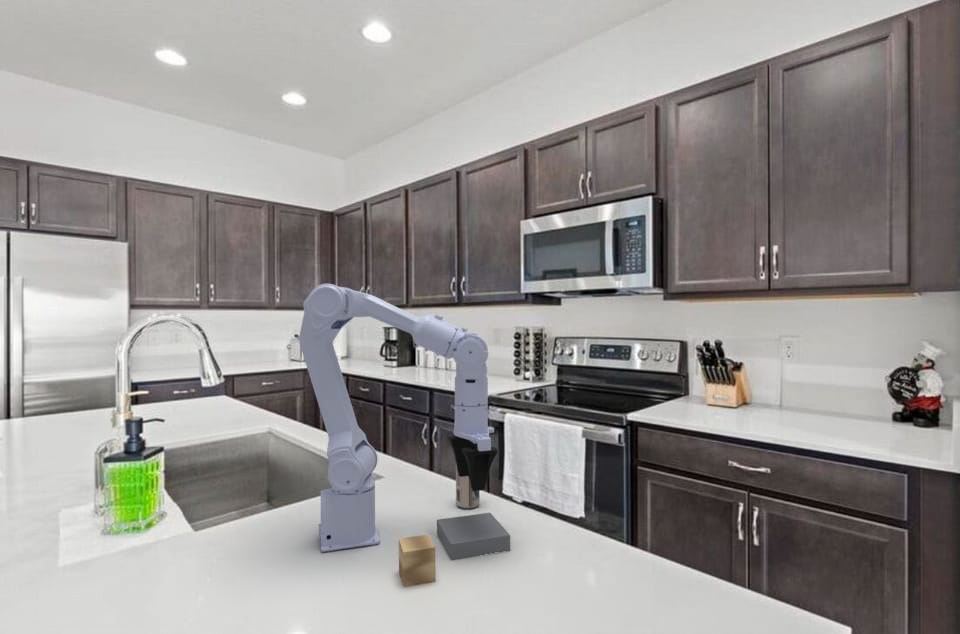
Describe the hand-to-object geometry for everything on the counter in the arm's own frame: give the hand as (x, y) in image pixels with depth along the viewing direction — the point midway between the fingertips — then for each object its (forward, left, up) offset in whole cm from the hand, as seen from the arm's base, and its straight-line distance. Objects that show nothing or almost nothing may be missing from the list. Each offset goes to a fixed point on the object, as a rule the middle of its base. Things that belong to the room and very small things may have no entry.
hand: (471, 482), depth 85 cm
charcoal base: (0, -1, -10) cm, 10 cm away
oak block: (-11, -9, -10) cm, 18 cm away
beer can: (+4, +15, -10) cm, 18 cm away
